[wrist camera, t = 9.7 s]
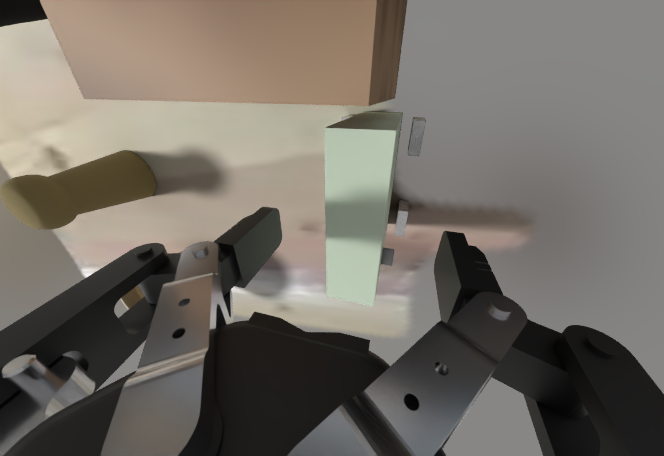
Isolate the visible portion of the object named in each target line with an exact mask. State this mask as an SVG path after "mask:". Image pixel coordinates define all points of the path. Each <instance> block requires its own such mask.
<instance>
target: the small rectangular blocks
mask: <svg viewBox="0 0 664 456" xmlns="http://www.w3.org/2000/svg"><path fill="white" fill-rule="evenodd" d="M353 116H356V115H348V116H345V117H342V121H343V120H345V119H348V118H350V117H353ZM425 122H426V120H425V118H415V117H414V118H413V123H412V129H411V135H410V141H409V147H408V155H411V156H419V154H420V149H421V144H422V138H423V133H424V128H425ZM408 202H409V201H404V200H400V201H399V207H398V213H397V219H396V226H395V235H400V236H404V232H405V227H406V222H407V217H408Z"/></svg>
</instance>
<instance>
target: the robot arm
mask: <svg viewBox="0 0 664 456" xmlns="http://www.w3.org/2000/svg"><path fill="white" fill-rule="evenodd" d="M281 240H282V230H281V222H280V214H279V210H278V209H277V208H270V207H261V208H260V209H259V210H258V211H256V212H255V213H254V214H252V215H250V216H248V217H246V218H243V219H242V220H241V221H239V222H238V223H237V225H234V226H233V227H232V228H231V229H229V230H228V231H227V232H226V233H224V234H223V235H222V236H220V237H219V238H218V239H217V240H215V241H214V242H209V241H206V242H199V243H196V244H193V245H191V246H189V247H187V248H186V249H184V250H183V251H182V253H173V254H167V252H166V249H165V247H164V245H162V244H159V243H150V244H145V245H142V246H139V247H136V248H134V249H132V250H130V251H129V252H127V253H126V254H124V255H122V256H121V257H119V258H117V259H116V260H114V261H113V262H111V263H109V264H108V265H106V266H105V267H103V268H101V269H100V270H98V271H97V272H95V273H93V274H92V275H90V276H89V277H87V278H85V279H84V280H82V281H80V282H79V283H77V284H76V285H74V286H72V287H71V288H69V289H68V290H66V291H64V292H63V293H61V294H60V295H58V296H56V297H55V298H53V299H52V300H50V301H48V302H47V303H45V304H43V305H42V306H40V307H39V308H37V309H35V310H34V311H32V312H31V313H29V314H27V315H26V316H24V317H23V318H21V319H19V320H18V321H16V322H14V323H13V324H11V325H10V326H8V327H6V328H5V329H3V330H2V331H0V456H446V454H445V453H444V451H443V448H444V446H445V445H446V443H447V442H448V440H449V439H450V437H451V436H452V435H453V433H454V431H455V430H456V429H457V427H458V425H459V424H460V423H461V421H462V420H463V418H464V417H465V415H466V414H467V412H468V411H469V409H470V408H471V406H472V405H473V403H474V402H475V401H476V399H477V398H478V396H479V395H480V393H481V392H482V390H483V389H484V387H485V386H486V384H487V383H488V381H489V380H490V379H491V377H493V378H495V379H496V380H498V381H500V382H502V383H504V384H506V385H508V386H509V387H512V388H513V389H515V390H517V391H519V392H521V393H523V394H524V397H525V400H526V403H527V407H528V410H529V412H530V416H531V419H532V422H533V425H534V428H535V431H536V435H537V438H538V440H539V444H540V447H541V450H542V453H543V456H664V394H663V393H662V392H661V390H660V389H659V388H658V386H657V385H656V384H655V383H654V381H653V380H652V379H651V378H650V376H649V375H648V374H647V372H646V371H645V370H644V369H643V367H642V366H641V365H640V363H639V362H638V361H637V360H636V358H635V357H634V356H633V355H632V354H631V353H630V352H629V351H628V350H627V349H626V348H625V347H624V346H622V345H621V344H620V343H619V342H617V341H616V340H614V339H613V338H611V337H609V336H608V335H605V334H604V333H602V332H599V331H597V330H595V329H592V328H589V327H585V326H580V325H571V326H568V327H567V328H566V329H565V330H564V331H563V332H562V333H559V332H557V331H554V330H552V329H549V328H547V327H544V326H542V325H539V324H537V323H535V322H532V321H530V320H528V319H527V315H526V313H525V311H524V310H523V309H522V308H521V307H520V306H519V305H518V304H517V303H516V302H514V301H513V300H511V299H510V298H508V297H506V296H504V295H503V293H502V291H501V289H500V287H499V285H498V282H497V280H496V278H495V276H494V274H493V272H491V267H490V265H489V264H488V261H487V259H486V257H485V255H484V254H483V253H482V252H481V251H480V250H479V249H478V248H477V247H476V246H470V245H468V243H467V240H466V238H465V235H464V234H463V233H457V232H450V231H444V232H443V235H442V238H441V241H440V245H439V248H438V252H437V255H436V259H435V264H434V274H435V282H436V288H437V295H438V302H439V308H440V315H441V321H440V322H438V323H437V324H436V325H435V326H433V327H432V328H431V329H430V330H429V331H428V332H427V333H426V334H425V335H424V336H423V337H422V338H420V339H419V340H418V341H417V342H416V343H415V344H414V345H413V346H412V347H411V348H410V349H409V350H408V351H406V352H405V353H404V354H403V355H402V356H401V357H400V358H399V359H398V360H397V361H396V362H395V363H393V364H392V365H391V366H389V365H388V364H387V363H386V362H385V361H384V360H383V359H381V358H380V357H379V356H377V355H376V354H374V353H372V352H371V351H369V343H370V340H367V339H363V338H359V337H355V336H351V335H347V334H343V333H331V332H327V333H326V332H305V331H303V330H301V329H299V328H297V327H296V326H294V325H292V324H290V323H288V322H287V321H285V320H283V319H281V318H278V317H274V316H270V315H266V314H262V313H258V312H254V313H253V315H252V316H251V318H250V319H249V321H239V322H234V321H233V299H232V291H231V289H232V287H233V286H237V287H242V288H245V287H246V286H247V284H248V283H249V282H250V281H251V279H252V278H253V277H254V276H255V275H256V273H257V272H258V271H259V270H260V269H261V267H262V266H263V265H264V264H265V262H266V261H267V260H268V259H269V258H270V256H271V255H272V254H273V253H274V251H275V250H276V249H277V248H278V247H279V245H280V243H281ZM137 285H138V286H139V288H140V289H141V291H142V293H143V295H144V297H143V298H142V299H141V300H140V301H138V302H137V303H136V304H135V305H134V306H132V307H131V308H130V309H129V310H128V311H127V312H125V313H124V314H123V315H122V316H121V317H119V318H117V316H116V315H115V313H114V307H115V305H116V303H117V301H118V300H119V299H121V298H122V297H123V296H124V295H126V294H127V293H128V292H130V291H131V290H132V289H133V288H135V287H136V286H137ZM145 340H146V343H145V346H144V349H143V352H142V355H141V359H140V362H139V366H138V368H137V370H136V371H134V372H132V373H131V374H129V375H127V376H125V377H123V378H121V379H119V380H117V381H115V382H114V383H111V384H110V385H108V386H106V387H104V388H102V389H100V390H98V391H96V390H97V389H98V388H99V387H100V386H101V385H102V384H103V383H104V382H105V381H106V380H107V379H108V378H109V377H110V376H111V375H112V374H113V373H114V372H115V370H117V369H118V368H119V366H121V364H123V363H124V361H125V360H126V359H127V358H128V357H129V356H130V355H131V354H132V353H133V352H134V351H135V350H136V349H137V348H138V347H139V346H140V345H141V344H142V343H143V342H144V341H145ZM95 391H96V392H95Z"/></svg>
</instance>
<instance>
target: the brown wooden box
mask: <svg viewBox="0 0 664 456" xmlns="http://www.w3.org/2000/svg"><path fill="white" fill-rule="evenodd" d="M40 2H41V5H42V7H43V9H44V11H45V13H46V16H47V18H48V20H49V22H50V24H51V27H52V29H53V31H54V33H55V36H56V38H57V40H58V42H59V44H60V47H61V49H62V51H63V53H64V55H65V58H66V60H67V62H68V64H69V66H70V69H71V71H72V73H73V75H74V77H75V80H76V82H77V84H78V86H79V89H80V91H81V93H82V95H83V97H84V99H109V100H151V101H192V102H233V103H274V104H315V105H356V106H370V105H373V104H377V103H380V102H383V101H387V100H390V99H394V98H395V94H396V86H397V78H398V70H399V62H400V54H401V45H402V37H403V30H404V22H405V13H406V6H407V0H40Z"/></svg>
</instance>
